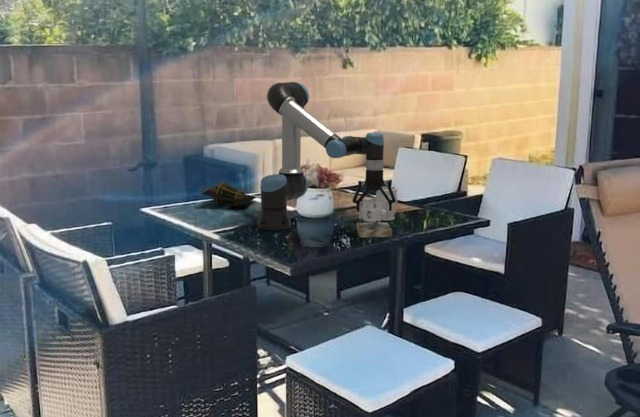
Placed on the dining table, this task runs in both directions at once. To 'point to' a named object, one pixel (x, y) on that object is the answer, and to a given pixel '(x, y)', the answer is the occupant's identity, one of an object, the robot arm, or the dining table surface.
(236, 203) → the lantern
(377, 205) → the mechanical part
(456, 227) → the dining table surface
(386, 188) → the jar
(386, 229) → the stand
